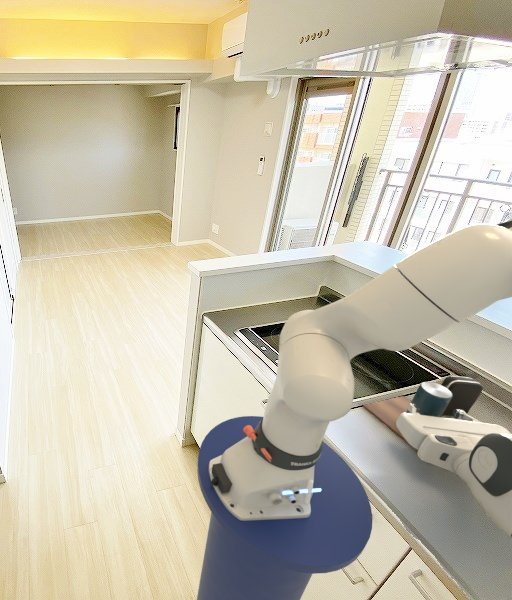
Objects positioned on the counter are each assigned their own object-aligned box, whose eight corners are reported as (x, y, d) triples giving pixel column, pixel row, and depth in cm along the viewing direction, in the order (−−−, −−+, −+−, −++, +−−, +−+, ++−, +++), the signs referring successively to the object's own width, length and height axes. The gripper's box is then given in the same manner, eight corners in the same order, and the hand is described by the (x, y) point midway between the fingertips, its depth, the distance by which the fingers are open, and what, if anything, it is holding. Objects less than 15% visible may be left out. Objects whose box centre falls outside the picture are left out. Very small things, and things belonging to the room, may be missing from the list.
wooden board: (429, 461, 77) (430, 459, 77) (362, 406, 93) (363, 404, 93) (476, 448, 80) (477, 447, 79) (403, 397, 95) (404, 395, 95)
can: (419, 436, 83) (439, 400, 77) (396, 418, 88) (414, 383, 82) (438, 431, 84) (460, 395, 78) (415, 414, 89) (433, 379, 83)
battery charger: (456, 407, 91) (476, 375, 86) (466, 418, 88) (487, 385, 83) (427, 404, 93) (444, 372, 87) (435, 414, 89) (454, 382, 84)
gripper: (545, 456, 65) (492, 405, 76) (423, 438, 69) (390, 393, 81) (528, 476, 68) (479, 424, 79) (411, 458, 72) (382, 411, 84)
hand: (433, 408), depth 80 cm, fingers open, 8 cm apart
